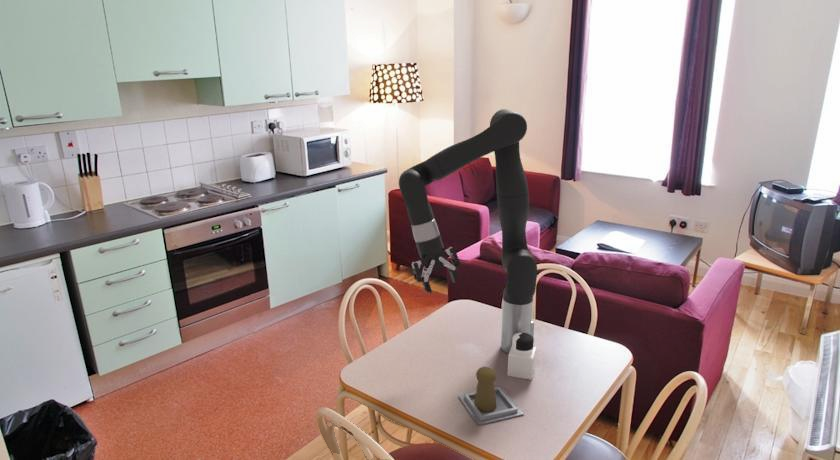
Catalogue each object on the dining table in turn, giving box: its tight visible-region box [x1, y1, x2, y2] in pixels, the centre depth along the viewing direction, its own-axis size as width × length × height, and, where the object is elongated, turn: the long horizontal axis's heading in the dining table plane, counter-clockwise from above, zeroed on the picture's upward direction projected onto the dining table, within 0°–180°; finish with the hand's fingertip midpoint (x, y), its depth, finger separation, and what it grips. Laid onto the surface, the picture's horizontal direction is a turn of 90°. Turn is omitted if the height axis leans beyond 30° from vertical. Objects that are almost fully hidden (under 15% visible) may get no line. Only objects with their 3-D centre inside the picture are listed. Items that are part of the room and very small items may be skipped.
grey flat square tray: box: [458, 386, 525, 427], centre depth 148 cm, size 13×13×1 cm
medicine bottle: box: [507, 333, 537, 381], centre depth 162 cm, size 7×7×12 cm
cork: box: [474, 366, 497, 413], centre depth 146 cm, size 6×6×11 cm
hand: (442, 287), depth 165 cm, fingers open, 8 cm apart
